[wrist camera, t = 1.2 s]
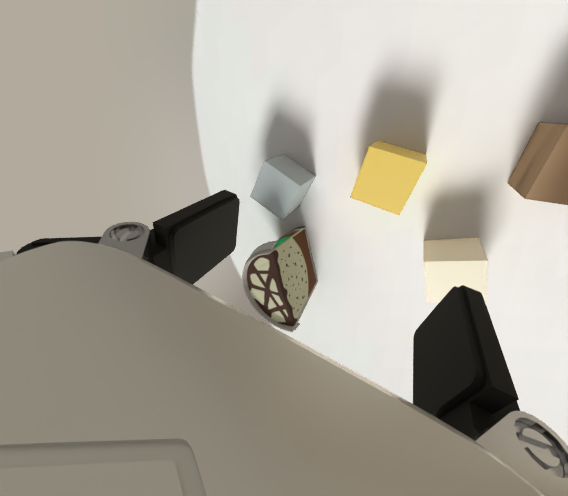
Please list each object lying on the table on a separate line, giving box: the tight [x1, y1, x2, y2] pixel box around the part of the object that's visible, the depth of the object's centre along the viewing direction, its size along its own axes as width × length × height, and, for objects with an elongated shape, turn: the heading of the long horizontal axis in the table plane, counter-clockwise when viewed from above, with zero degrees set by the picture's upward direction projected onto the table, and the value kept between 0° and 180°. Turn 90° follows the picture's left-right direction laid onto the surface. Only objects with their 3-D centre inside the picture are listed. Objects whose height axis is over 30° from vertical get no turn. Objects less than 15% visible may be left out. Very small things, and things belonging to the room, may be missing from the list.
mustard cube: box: [350, 140, 427, 215], centre depth 24 cm, size 5×5×5 cm
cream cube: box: [424, 237, 488, 304], centre depth 26 cm, size 5×5×5 cm
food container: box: [242, 227, 318, 332], centre depth 34 cm, size 12×6×10 cm, turn 18°
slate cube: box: [250, 154, 316, 220], centre depth 30 cm, size 5×5×5 cm
